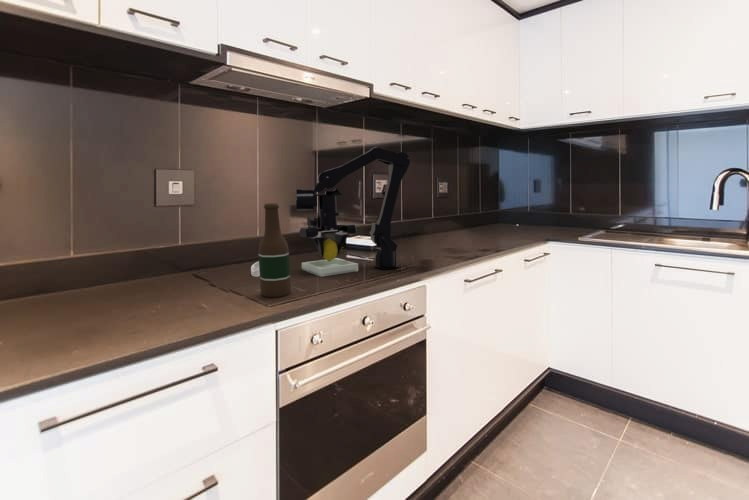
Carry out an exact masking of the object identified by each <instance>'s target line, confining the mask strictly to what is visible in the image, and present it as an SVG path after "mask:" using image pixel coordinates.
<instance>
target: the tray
mask: <svg viewBox="0 0 749 500" xmlns="http://www.w3.org/2000/svg"><path fill="white" fill-rule="evenodd" d="M301 270H302V271H303V272H307V273H309V274H311V275H315V276H317V277H321V278H322V277H328V276H336V275H341V274H348V273H355V272H358V271H359V263H356V262H353V261H349V260H347V259H342V258H338V257H335V258H334V259H333V260H332V261H331V262H329V261H328V260H326V259H319V260H313V261H305V262H301Z"/></svg>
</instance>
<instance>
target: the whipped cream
mask: <svg viewBox="0 0 749 500" xmlns="http://www.w3.org/2000/svg"><path fill="white" fill-rule="evenodd" d="M250 273H251V276H252V277H256V278H258V277H259V278H260V270H259V260H258V261H256V262H255V263H253V264H252V265H251V267H250Z"/></svg>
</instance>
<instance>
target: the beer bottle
mask: <svg viewBox="0 0 749 500" xmlns="http://www.w3.org/2000/svg"><path fill="white" fill-rule="evenodd" d="M263 208H264V235H263V236H262V237H261V239H260V242H259V245H258V261H259V270H260V276H259V284H260V293H261V295H262V296H263V297H264V298H265V297H266V298H280V296H281V297H286V296H287V295H289V294H291V285H292V283H291V267H290V249H289V245H288V242H287V240H286V238H285V237H284V235H282V231H281V224H280V218H279V208H280V206H279V204H278V203H277V202H276V203H275V202H271V203H270V202H269V203H265V204H264V205H263Z"/></svg>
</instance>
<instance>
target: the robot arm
mask: <svg viewBox="0 0 749 500" xmlns="http://www.w3.org/2000/svg"><path fill="white" fill-rule="evenodd" d="M374 161H377V162H380V163H382V164H384V165H388V180H387V185H386V189H385V193H384V197H383V201H382V205H381V210H380V213H379V217H378V219H377V221H376V222H371V228H370V231H369V234H370V240H371V241H372V243H373V244H375V245H376V250H375V252H376V253H375V264H374V265H373V266H374V268H378V269H380V270H390V269H396V268H399V267H400V265H397V248H398V244H396V243H395V242H394V241H393V240H392V239H391V238H392V219H393V215H394V211H395V210H394V209H395V207H396V203H397V199H398V194H399V190H400V187H401V182H402V180H403V178H404V177H405V175H406V173H407V172H408V169H409V167H410V164H411V158H410V156H409V154H407V153H406V152H404V151H400V152H395V151H392V150H388V149H384V148H380V147H379V146H374V147H372V148H371V149H369V150H368V151H366V152H365V153H363V154H360V155H359V156H357V157H355V158H352V159H351V160H350V161H347V162H346V163H344V164H342V165H340V166H337V167H333V168H331V169H330V168H329V169H326V170H323V171H322V172H320V173H319V174H318V175H317V183H316V184H315V186H313V189H300V188H299V189H296V192H295V194H296V199H295V201H296V203H295V205H296V211H315V208H316V207H318V210H319V211H318V212H317V214H316V217H314V216H308V217H306V224H307V226H306V227H300V230H299V237H302V238H309V239H311V240H312V241H313V242H314V244H315V246H316V248H317V251H318V254H319V257H320V258H324V257H323V253H324V241H325V239H324V238H325V237H324V236H322V235H323V234H333V236H334V239H335V240H334V242H335V243H336V245H337V249H338V252H337V256H339V255H340V252H341V249H342V247H343V245H344V243H345V241H346V240H347V238H348V237H350V234H357V226H356V225H355V224H351V223H343V224H338V216H340V215H339V214H340V213H339V212H337V196H342V192H341V191H340V190H339V189H338V187H337V188H334V186H336V185H337V184H338V183H340V182H341V181H342V180H344V178H346V177H347V176H348V175H350V174H352V173H354V172H357V171H358V170H359V169H362V168H363V167H365V166H368V165H369V164H370V163H373V162H374ZM332 188H334V190H329V189H332ZM325 189H327V190H325ZM324 190H325V192H324V193H320V192H322V191H324ZM317 197H318V198H317Z"/></svg>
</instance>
